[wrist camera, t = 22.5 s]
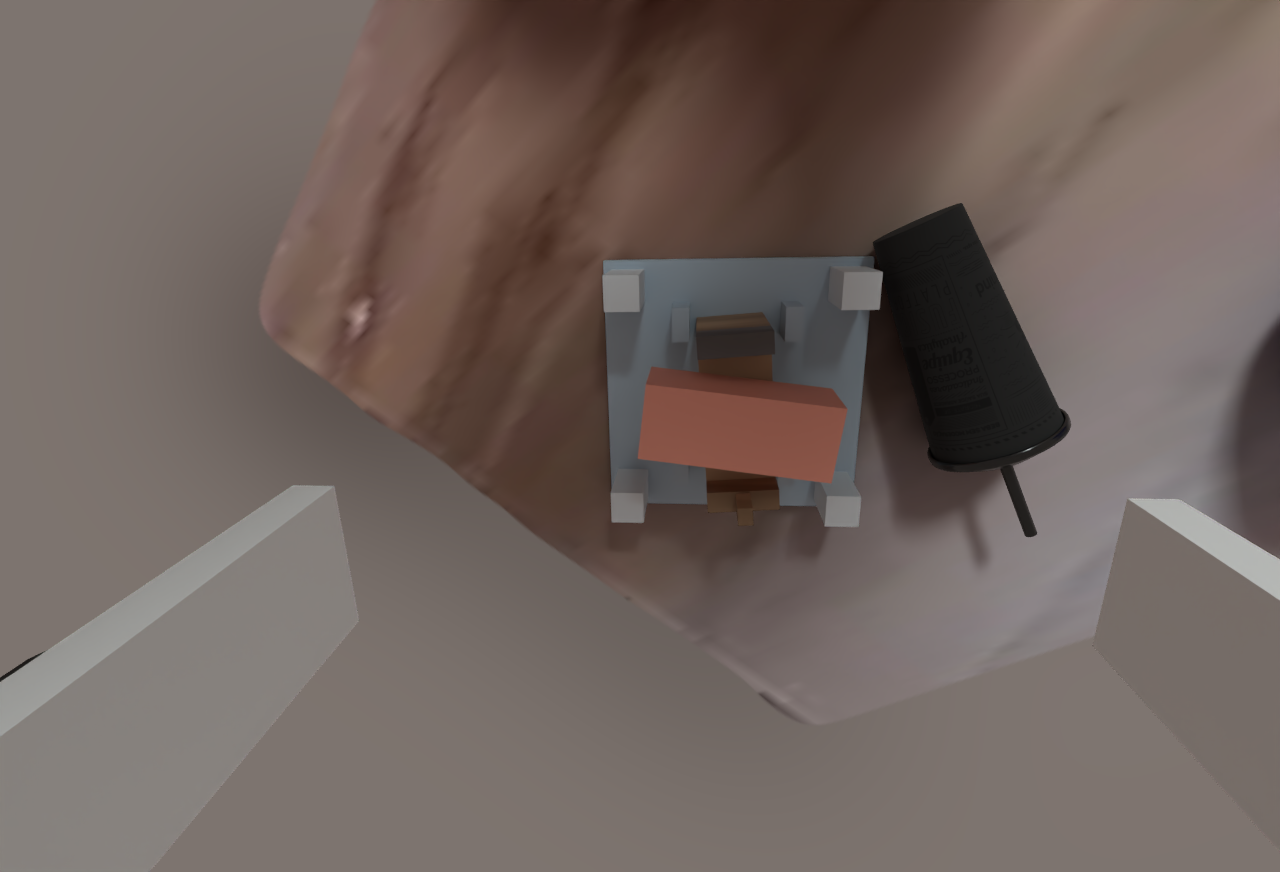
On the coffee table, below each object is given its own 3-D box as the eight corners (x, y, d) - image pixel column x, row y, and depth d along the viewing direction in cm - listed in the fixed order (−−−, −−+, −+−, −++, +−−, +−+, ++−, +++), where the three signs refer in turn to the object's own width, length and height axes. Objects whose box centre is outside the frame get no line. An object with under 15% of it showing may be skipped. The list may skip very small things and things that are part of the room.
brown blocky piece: (767, 465, 43) (784, 525, 35) (706, 468, 43) (708, 529, 35) (762, 311, 40) (778, 338, 32) (696, 317, 40) (695, 344, 32)
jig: (605, 260, 41) (593, 266, 36) (870, 255, 39) (893, 261, 35) (613, 496, 46) (604, 529, 41) (848, 500, 44) (866, 534, 40)
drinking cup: (875, 235, 42) (980, 509, 45) (827, 265, 36) (949, 572, 40) (1005, 180, 36) (1112, 496, 40) (970, 205, 31) (1097, 566, 35)
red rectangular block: (643, 434, 38) (637, 458, 34) (651, 366, 36) (645, 384, 33) (817, 456, 37) (831, 483, 34) (832, 388, 36) (847, 409, 32)
